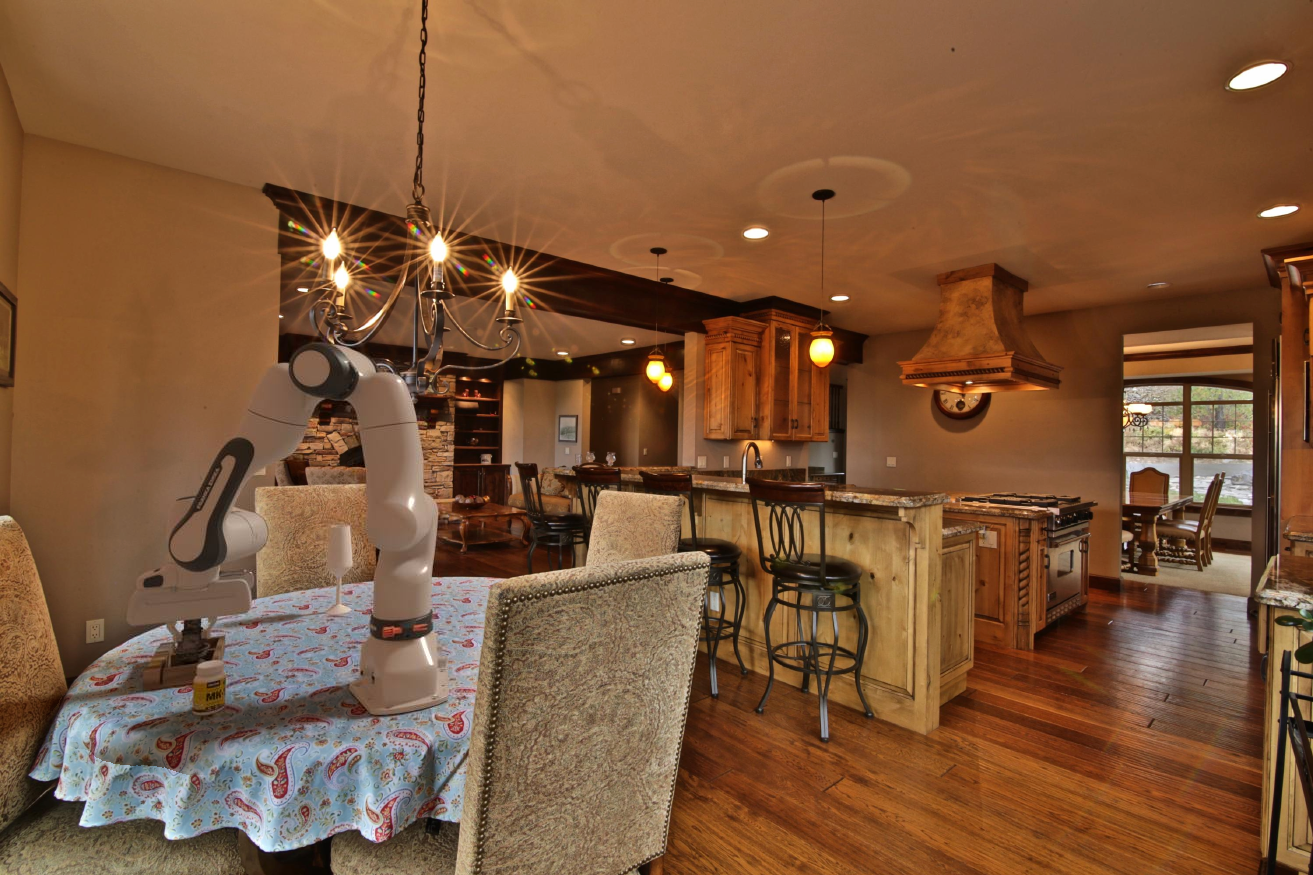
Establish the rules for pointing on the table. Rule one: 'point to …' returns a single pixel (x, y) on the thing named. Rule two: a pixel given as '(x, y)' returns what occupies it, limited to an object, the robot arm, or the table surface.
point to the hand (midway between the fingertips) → (191, 640)
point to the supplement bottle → (209, 688)
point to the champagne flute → (339, 561)
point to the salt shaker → (191, 644)
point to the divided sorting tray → (165, 663)
